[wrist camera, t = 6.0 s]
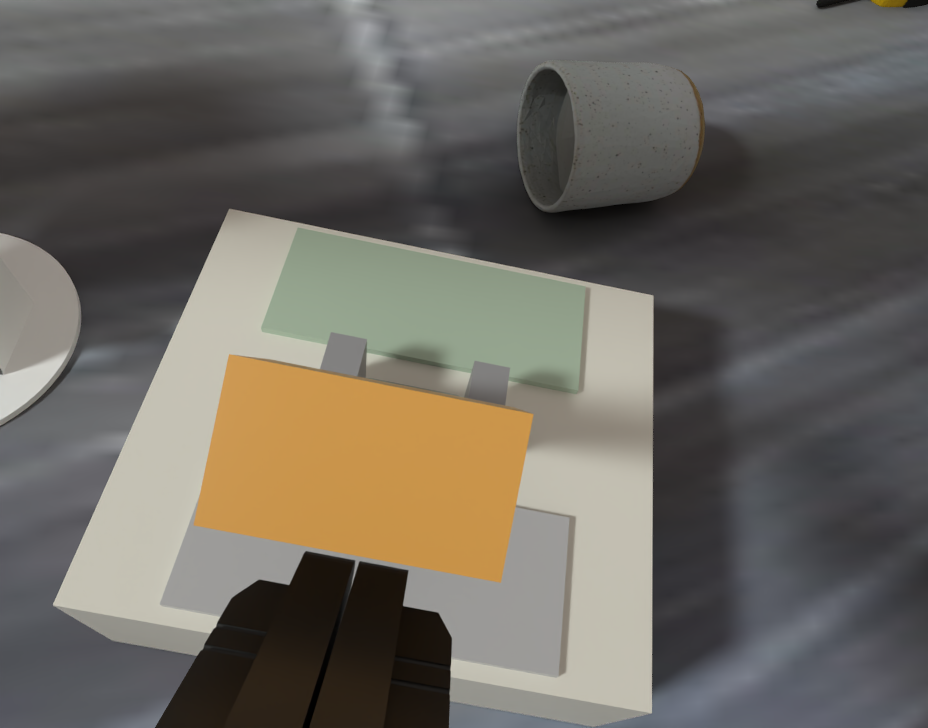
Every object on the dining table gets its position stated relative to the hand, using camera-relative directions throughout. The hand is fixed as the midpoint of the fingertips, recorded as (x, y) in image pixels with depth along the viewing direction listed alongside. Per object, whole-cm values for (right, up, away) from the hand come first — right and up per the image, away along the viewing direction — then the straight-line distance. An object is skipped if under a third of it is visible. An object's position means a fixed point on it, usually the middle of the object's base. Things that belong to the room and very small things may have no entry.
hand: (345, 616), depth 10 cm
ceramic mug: (+8, +15, +32) cm, 36 cm away
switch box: (-1, -2, +20) cm, 20 cm away
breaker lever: (0, +2, +14) cm, 14 cm away
